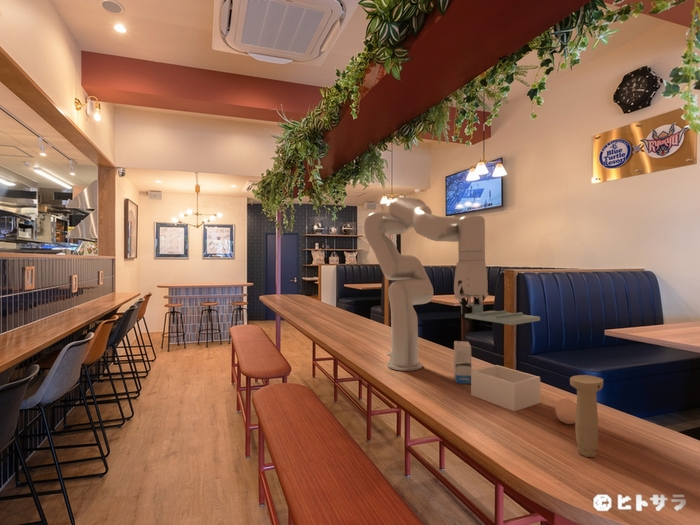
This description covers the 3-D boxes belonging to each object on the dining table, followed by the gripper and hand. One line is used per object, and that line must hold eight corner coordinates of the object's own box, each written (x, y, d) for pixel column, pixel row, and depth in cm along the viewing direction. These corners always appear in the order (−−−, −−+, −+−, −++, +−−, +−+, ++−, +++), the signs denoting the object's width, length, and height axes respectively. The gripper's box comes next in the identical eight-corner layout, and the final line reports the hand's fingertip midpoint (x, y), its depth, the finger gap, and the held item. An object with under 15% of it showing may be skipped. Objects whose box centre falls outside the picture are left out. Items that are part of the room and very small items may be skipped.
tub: (471, 394, 110) (471, 370, 109) (496, 388, 115) (496, 364, 115) (514, 411, 98) (514, 384, 97) (540, 402, 103) (540, 377, 103)
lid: (451, 315, 112) (451, 305, 112) (478, 312, 119) (478, 302, 119) (512, 325, 95) (512, 313, 95) (540, 320, 102) (540, 309, 102)
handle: (564, 452, 77) (564, 378, 77) (585, 445, 80) (584, 373, 80) (588, 463, 73) (588, 385, 72) (609, 455, 75) (609, 380, 75)
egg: (550, 421, 92) (550, 396, 92) (565, 417, 94) (565, 393, 94) (570, 429, 87) (570, 403, 87) (585, 425, 89) (585, 400, 89)
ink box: (472, 384, 119) (472, 346, 119) (455, 383, 120) (455, 346, 120) (469, 376, 127) (469, 340, 127) (453, 375, 128) (453, 340, 128)
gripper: (479, 257, 121) (479, 315, 121) (442, 257, 112) (442, 320, 112) (500, 257, 115) (500, 318, 115) (462, 257, 106) (462, 323, 106)
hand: (471, 318), depth 113 cm, fingers closed on lid, 3 cm apart
